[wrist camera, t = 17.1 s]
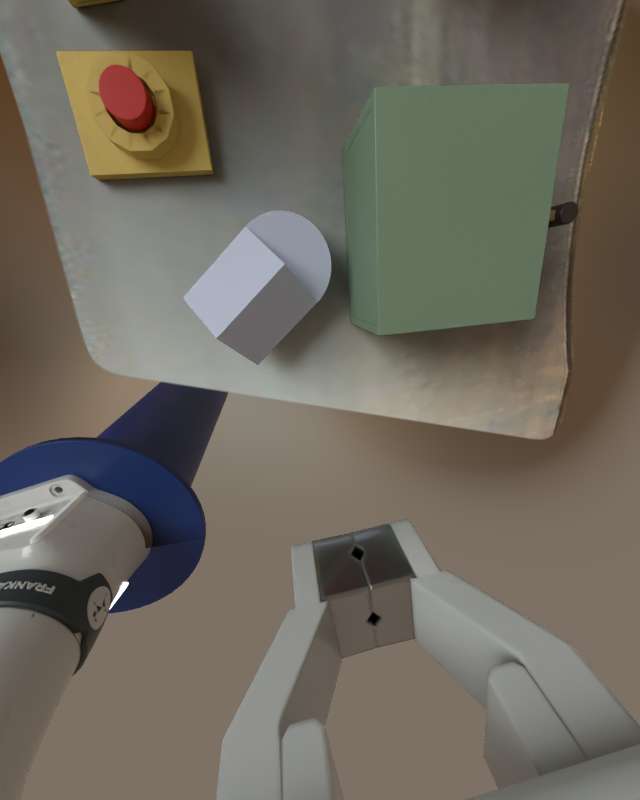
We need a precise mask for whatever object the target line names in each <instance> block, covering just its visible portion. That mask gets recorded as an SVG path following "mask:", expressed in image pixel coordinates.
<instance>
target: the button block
mask: <svg viewBox="0 0 640 800" xmlns="http://www.w3.org/2000/svg"><path fill="white" fill-rule="evenodd" d="M56 53H57V57H58V60H59V64H60V68H61V71H62V75H63V78H64V82H65V85H66V89H67V92H68V96H69V100H70V103H71V107H72V110H73V114H74V117H75V121H76V124H77V128H78V132H79V135H80V139H81V142H82V146H83V149H84V153H85V157H86V160H87V164H88V167H89V171H90V174H91V176H92V177H94V178H96V179H97V180H108V179H129V178H150V177H171V176H192V175H213V174H214V171H213V165H212V159H211V153H210V147H209V141H208V135H207V129H206V123H205V117H204V111H203V105H202V99H201V93H200V87H199V81H198V75H197V69H196V63H195V59H194V56H193V53H192V51H56ZM111 65H122V66H125V67H127V68H129V69H131V70H132V71H133V72H134V73H135V74H136V75H137V76H138V77H139V78H140V80H141V81H142V83H143V84H144V86H145V88H146V89H147V91H148V92H149V94H150V96H151V98H152V101H153V104H154V118H153V121H152V123H151V124H150V125H149V126H148V127H147V128H146V129H144V130H139V131H135V130H131V129H128V128H126V127H125V126H123V125H122V124H121V123H120V122H119V121H118V120H117V119H116V118H115V117H114V116H113V115H112V114H111V113H110V111H109V110H108V109H107V108H106V106H105V105H104V103H103V101H102V99H101V96H100V93H99V79H100V76H101V73H102V72H103V71H104V70H105V69H106V68H107V67H109V66H111Z"/></svg>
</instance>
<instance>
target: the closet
mask: <svg viewBox="0 0 640 800" xmlns="http://www.w3.org/2000/svg"><path fill="white" fill-rule="evenodd" d="M568 90H569V83H555V84H504V85H454V86H403V87H374V89H373V91H372V93H371V95H370V97H369V99H368V101H367V102H366V104H365V106H364V108H363V110H362V112H361V114H360V116H359V118H358V120H357V122H356V124H355V126H354V128H353V129H352V131H351V133H350V135H349V137H348V139H347V141H346V143H345V145H344V147H343V149H342V159H343V180H344V201H345V222H346V243H347V264H348V285H349V306H350V323H352V324H354V325H356V326H358V327H360V328H363V329H365V330H367V331H369V332H372V333H374V334H376V335H378V336H384V335H393V334H402V333H411V332H421V331H430V330H439V329H448V328H458V327H467V326H476V325H485V324H495V323H504V322H513V321H522V320H532V319H535V312H536V306H537V299H538V292H539V286H540V279H541V272H542V265H543V259H544V252H545V245H546V238H547V232H548V225H549V218H550V212H551V205H552V198H553V191H554V185H555V178H556V171H557V164H558V158H559V151H560V144H561V138H562V131H563V124H564V117H565V111H566V104H567V97H568Z"/></svg>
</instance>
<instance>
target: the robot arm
mask: <svg viewBox="0 0 640 800" xmlns="http://www.w3.org/2000/svg"><path fill="white" fill-rule="evenodd" d="M59 487H61V488H62V489H60V488H59ZM152 542H153V536H152V530H151V527H150V525H149V522H148V521H147V519H146V518H145V516H144V515H143V514H142V512H141V511H140V510H139V509H137V508H136V507H135V506H134V505H133V504H131V503H130V502H128V501H126V500H125V499H123V498H121V497H118V496H116V495H113V494H110V493H107V492H104V491H101V490H98V489H96V488H94V487H93V486H92V485H90V484H89V483H87V482H86V481H85V480H83V479H82V478H80V477H78V476H75V475H64V476H61V477H58V478H55V479H52V480H49V481H45V482H42V483H39V484H36V485H33V486H30V487H27V488H23V489H20V490H17V491H14V492H11V493H8V494H5V495H1V496H0V800H20V799H21V795H22V792H23V788H24V785H25V781H26V779H27V776H28V773H29V771H30V768H31V765H32V763H33V760H34V758H35V756H36V753H37V751H38V749H39V746H40V744H41V741H42V739H43V737H44V734H45V732H46V730H47V728H48V725H49V723H50V720H51V719H52V716H53V714H54V712H55V710H56V708H57V706H58V704H59V702H60V700H61V697H62V695H63V693H64V691H65V689H66V687H67V685H68V683H69V681H70V679H71V677H72V676H73V675H74V674H75V673H77V671H78V670H79V669H80V668H81V666H82V665H83V663H84V662H85V660H86V658H87V656H88V654H89V652H90V650H91V649H92V647H93V645H94V643H95V641H96V639H97V637H98V635H99V633H100V631H101V629H102V627H103V625H104V622H105V620H106V617H107V615H108V612H109V610H110V609H111V607H112V606H113V605H114V603H115V602H116V601H117V599H118V598H119V597H120V595H121V594H122V593H123V591H124V590H125V589H126V587H127V585H128V582H127V581H128V579H129V578H130V577H131V575H132V574H133V573H134V572H135V570H136V569H137V568H138V567H139V566H140V565H141V564H142V563H143V561H144V560H145V559H146V558H147V556H148V555H149V553H150V550H151V547H152ZM291 557H292V570H293V583H294V596H295V609H293V610H289V611H288V613H287V615H286V617H285V619H284V621H283V623H282V625H281V627H280V629H279V631H278V633H277V635H276V637H275V639H274V641H273V643H272V645H271V646H270V648H269V650H268V652H267V654H266V656H265V658H264V660H263V662H262V664H261V666H260V668H259V670H258V672H257V674H256V676H255V678H254V680H253V682H252V684H251V686H250V687H249V689H248V692H247V693H246V695H245V697H244V699H243V701H242V703H241V705H240V707H239V709H238V711H237V713H236V715H235V717H234V719H233V721H232V723H231V725H230V727H229V729H228V730H227V732H226V735H225V736H224V738H223V740H222V750H221V759H220V767H219V776H218V786H217V794H216V800H344V797H343V793H342V790H341V786H340V782H339V778H338V774H337V771H336V767H335V764H334V760H333V756H332V752H331V748H330V745H329V741H328V737H327V734H326V730H325V724H326V720H327V716H328V713H329V709H330V705H331V701H332V697H333V693H334V689H335V686H336V681H337V677H338V674H339V670H340V666H341V662H342V661H341V659H342V658H345V657H348V656H351V655H355V654H358V653H361V652H365V651H368V650H371V649H374V648H378V647H382V646H386V645H390V644H395V643H398V642H403V641H407V640H411V639H415V641H416V642H417V643H418V644H419V645H420V646H421V647H422V648H423V649H424V650H425V651H426V652H427V653H428V654H429V655H430V656H431V657H432V658H433V659H434V660H435V661H437V662H438V664H440V665H441V666H442V667H443V668H444V669H445V670H446V671H447V672H448V673H449V674H450V675H451V676H452V677H453V678H454V679H455V680H456V681H457V682H458V683H459V684H460V685H461V686H462V687H463V688H464V689H465V690H466V691H467V692H469V694H470V695H471V696H473V698H475V699H476V700H477V701H478V702H479V703H480V704H481V705H482V706H483V707H484V708H485V709H486V726H485V743H484V758H485V760H486V763H487V765H488V767H489V769H490V772H491V774H492V776H493V778H494V781H495V783H496V785H497V787H498V790H494V791H491V792H488V793H485V794H482V795H479V796H476V797H473V798H470V799H467V800H640V726H639V725H638V723H637V722H636V721H635V720H634V719H633V717H632V716H631V715H630V714H629V713H628V711H627V710H626V709H625V708H624V707H623V705H622V704H621V703H620V702H619V701H618V699H617V698H616V697H615V696H614V695H613V694H612V692H611V691H610V690H609V689H608V688H607V686H606V685H605V684H604V683H603V682H602V680H601V679H600V678H599V677H598V676H597V674H596V673H595V672H594V671H593V670H592V668H591V667H590V666H589V665H588V664H587V663H586V662H585V660H584V659H583V658H582V657H581V656H580V654H579V653H578V652H577V651H576V650H575V648H574V647H573V646H572V645H571V644H570V642H568V641H566V640H565V639H562V638H561V637H559V636H558V635H556V634H554V633H552V632H551V631H549V630H548V629H546V628H544V627H543V626H541V625H539V624H538V623H536V622H534V621H533V620H531V619H529V618H527V617H526V616H524V615H522V614H521V613H519V612H517V611H516V610H514V609H512V608H511V607H509V606H507V605H506V604H504V603H502V602H501V601H499V600H497V599H495V598H494V597H492V596H490V595H489V594H487V593H485V592H484V591H482V590H480V589H478V588H477V587H475V586H474V585H471V584H470V583H469V582H467V581H465V580H463V579H462V578H460V577H458V576H457V575H455V574H453V573H451V572H450V571H448V570H446V571H441V570H440V569H439V567H438V565H437V564H436V562H435V561H434V559H433V557H432V556H431V554H430V552H429V551H428V549H427V547H426V546H425V544H424V542H423V541H422V539H421V537H420V536H419V534H418V532H417V531H416V529H415V528H414V526H413V524H412V522H411V521H410V520H408V519H403V520H399V521H395V522H391V523H388V524H384V525H380V526H376V527H372V528H368V529H364V530H360V531H356V532H352V533H349V534H344V535H339V536H335V537H330V538H325V539H320V540H316V541H312V542H309V543H304V544H299V545H294V546H292V549H291Z"/></svg>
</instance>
